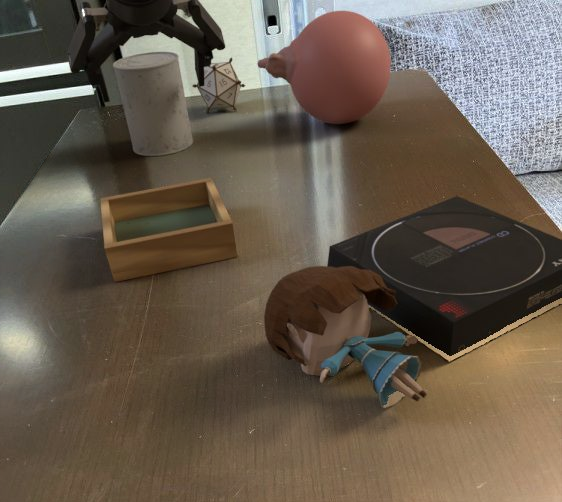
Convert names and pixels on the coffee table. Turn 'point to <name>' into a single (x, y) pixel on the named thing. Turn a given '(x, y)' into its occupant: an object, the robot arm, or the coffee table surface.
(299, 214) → the coffee table surface
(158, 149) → the speckled white tin can
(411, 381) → the figurine
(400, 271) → the portable cd player
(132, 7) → the robot arm
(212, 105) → the game die
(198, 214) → the wooden box
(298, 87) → the balloon
